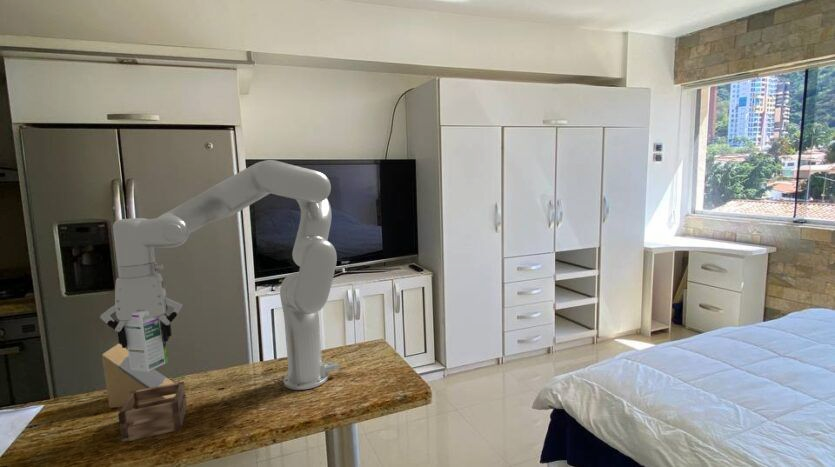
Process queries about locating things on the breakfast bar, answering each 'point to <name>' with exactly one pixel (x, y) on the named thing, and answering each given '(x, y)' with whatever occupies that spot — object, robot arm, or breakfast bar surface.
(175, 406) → the crate
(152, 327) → the syrup box
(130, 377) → the sandwich container
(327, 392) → the breakfast bar surface
